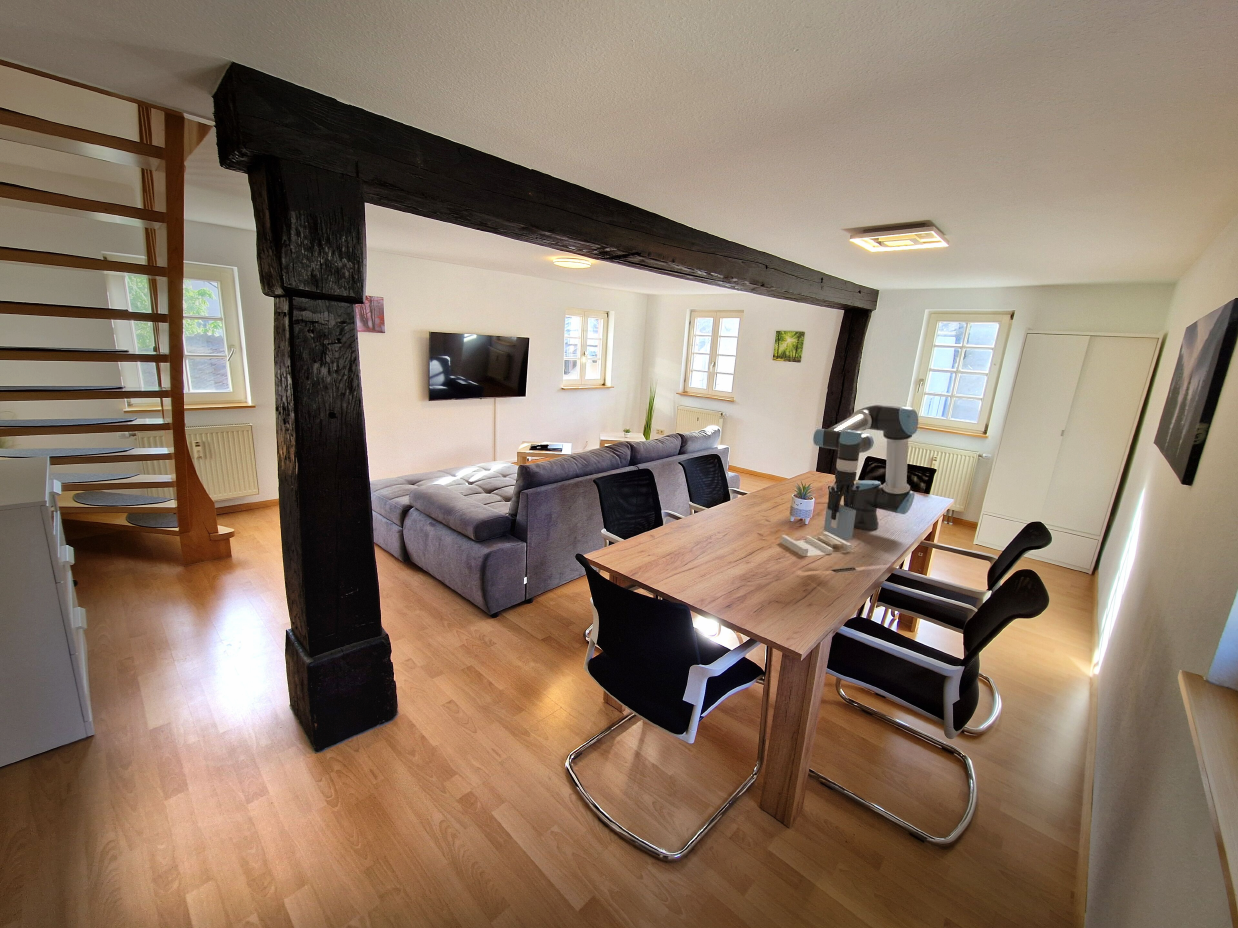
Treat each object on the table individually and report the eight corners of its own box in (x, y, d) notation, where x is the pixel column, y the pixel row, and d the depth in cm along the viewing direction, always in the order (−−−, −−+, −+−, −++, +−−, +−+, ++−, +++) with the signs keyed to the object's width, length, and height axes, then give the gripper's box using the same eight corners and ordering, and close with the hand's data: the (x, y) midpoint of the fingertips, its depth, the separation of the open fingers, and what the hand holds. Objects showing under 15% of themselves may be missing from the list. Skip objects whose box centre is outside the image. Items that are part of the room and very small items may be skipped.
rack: (825, 540, 225) (826, 531, 224) (850, 554, 210) (851, 544, 209) (780, 544, 219) (781, 535, 218) (803, 558, 204) (804, 548, 203)
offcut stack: (822, 539, 223) (823, 533, 223) (844, 551, 210) (845, 544, 210) (810, 540, 222) (811, 534, 221) (832, 552, 209) (833, 545, 208)
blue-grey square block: (830, 529, 202) (834, 501, 200) (851, 539, 191) (856, 510, 189) (823, 530, 201) (827, 502, 199) (844, 540, 190) (848, 510, 188)
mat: (831, 556, 207) (832, 555, 207) (856, 570, 194) (856, 568, 194) (811, 558, 204) (812, 557, 204) (835, 572, 191) (835, 571, 191)
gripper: (856, 467, 197) (848, 522, 201) (821, 468, 192) (814, 525, 197) (870, 471, 190) (862, 528, 194) (835, 472, 185) (827, 531, 190)
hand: (838, 526), depth 196 cm, fingers closed on blue-grey square block, 3 cm apart
